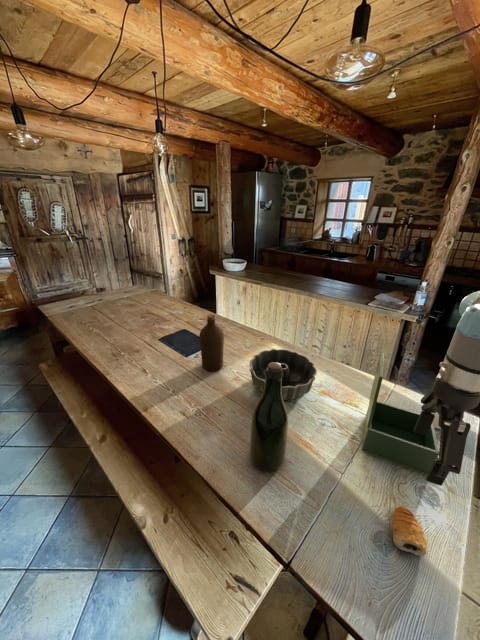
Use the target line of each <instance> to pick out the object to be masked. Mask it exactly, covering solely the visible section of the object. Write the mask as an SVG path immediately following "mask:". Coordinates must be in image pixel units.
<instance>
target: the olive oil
mask: <svg viewBox="0 0 480 640" xmlns="http://www.w3.org/2000/svg"><path fill="white" fill-rule="evenodd" d="M198 337H199V339H198V340H199V347H200V356H201V366H202V367H201V368H202V369H203V370H204V371H206V372H217V371H220V370H222V369H223V367H224V346H225V334H224V330H223V329H222V328H221V327H220V326H219V324H216V316H215V314H208V315H207V316H206V324H205V325H204V326H203V327H202V328H201V330H200V332H199V335H198Z"/></svg>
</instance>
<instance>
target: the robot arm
mask: <svg viewBox="0 0 480 640" xmlns="http://www.w3.org/2000/svg"><path fill="white" fill-rule="evenodd" d="M458 312H459V315H460V317H461V318H460V319H459V321H458V323H457V324H456V327H455V331H454V333H453V336H452V339H451V341H450V344H449V345H448V346H449V347H448V349H447V351H446V354H445V356H444V359H443V361H441V362H439V367H440V369H439V371H438V374H437V375H436V377H435V380H434V382H433V384H432V386H431V388H430V389H429V390H428V391H427V392H426V393H425V394H424V396H422V398H421V399H420V404H422V405H421V407H420V409H421V412H420V413H419V414H420V416H419V418H418V421H417V423H416V425H415V428H414V430H413V431H414V433H417V434H421V435H425V436H427V433H428V431H429V429H430V427H431V424H432V422H433V420H434V418H435V415H434V414H431V413H436V414H437V413H438V414H439V423H438V425H439V427H440V428H441V429H440V435H439V446H438V450H439V456H438V458H437V457H436V458H435V459H434V462H433V464H432V466H431V468H430V470H429V472H428V474H426V476H425V481H426V482H428V483H430V484H434V485H437V486H440V487H443V484H444V482H445V481H446V479H447V477H448V475H449V473H453V474H456V475H460V474H461V470H462V465H463V460H464V454H465V449H466V444H467V443H466V442H467V438H468V435H469V432H470V430H471V428H472V427H471V426H472V425H471V423H470V422H466V421H464V420H463V419H464V417H465V411H468V410H473V409H475V408H477V407H478V405H479V404H480V290H478V291H475V292H472V293H470V294H467V296H465V297H464V298H463V299H462V300H461V302H460V304H459V306H458ZM444 422H446V423H448V424H447V425H445V424H444Z"/></svg>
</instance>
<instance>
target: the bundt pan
mask: <svg viewBox="0 0 480 640" xmlns="http://www.w3.org/2000/svg"><path fill="white" fill-rule="evenodd" d="M271 362H277V363H279V364H281V367H282V370H283V377H282V398H283V401H288V402H292V401H293V400H299V399H302V398H303V397H304V396H305V395H307V394H308V393H309V392H310V391H311V388H312V385H313V383H314V381H316V375H317V373H318V370H317V367H315V363H314V362H313V361H311V360H310V359H309V357H307V356H306V355H303V354H300V353H299V352H297V351H292V350H289V349H284V348H280V349H279V348H278V349H277V348H271V349H267V350H262V351H260V352H258V353H257V354H254V355H253V356H252V358H251V359H250V360H249V367H250V368H249V371H250V375H251V382H252V385H253V386H254V387H255V388H256V390H257V391H258V392H259V393H260V394H261V395H262V394H263V390H264V385H265V377H266V375H265V371H266V368H267V367H268V364H269V363H271Z"/></svg>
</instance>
